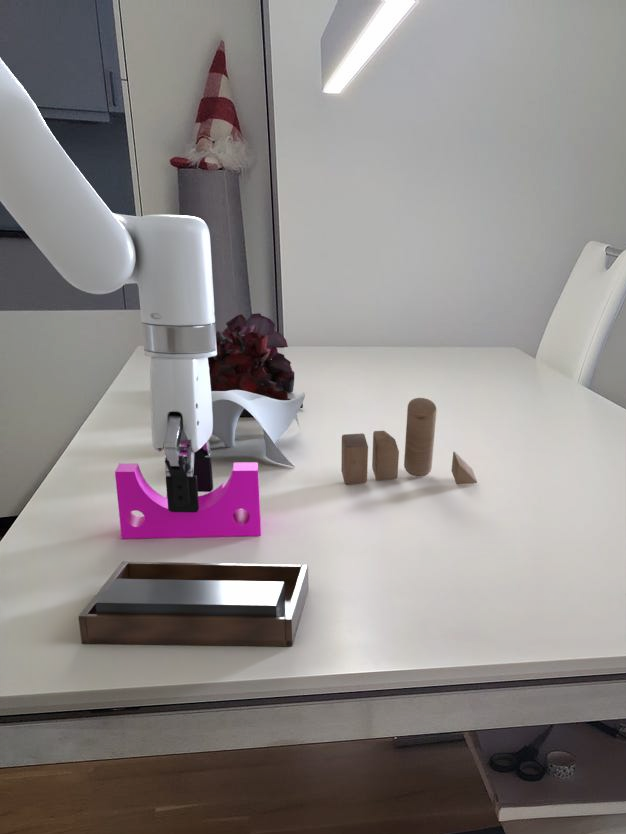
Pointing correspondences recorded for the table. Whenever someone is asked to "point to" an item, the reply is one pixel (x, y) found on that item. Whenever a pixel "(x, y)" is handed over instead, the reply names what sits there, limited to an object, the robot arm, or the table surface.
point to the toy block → (217, 516)
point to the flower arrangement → (251, 359)
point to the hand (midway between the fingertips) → (191, 500)
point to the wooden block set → (387, 452)
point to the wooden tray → (197, 604)
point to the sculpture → (264, 410)
